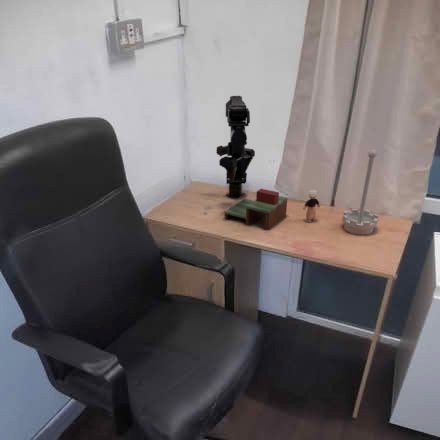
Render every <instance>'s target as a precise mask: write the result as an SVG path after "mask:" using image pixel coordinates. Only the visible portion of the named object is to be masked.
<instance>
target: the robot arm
mask: <svg viewBox="0 0 440 440" xmlns="http://www.w3.org/2000/svg"><path fill="white" fill-rule="evenodd" d="M225 117H226V122H227V125H228V127H230V141H229V142H228V143H227V145H224V146H223V145H219V146H216V155H218V156H219V157H220V159H219V160H218V163H219V164H218V165H219V166H221V168H224V169H225V171H226V174H225V177H226V178H225V179H226V181H225V182H226V185H228V193H226V195H225V196H226V197H230V198H233V199H240V198H241V197H243V196H245V192H243V185H244V184H245V185H246V183H247V178H248V177H247V176H248V173H247V170H248V168H249V166H250V164H251V162H252V160H254V157H255V156H256V150H254V149H253V148H248V147H246V146H247V145H248V136H247V133H246V132H247V131H246V127H249V124H250V123H251V114H250V110H249V108H248V107H247V104H246V103H245V101H243V96H241V95H231V96H229V100H227V102H226V103H225Z"/></svg>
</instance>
